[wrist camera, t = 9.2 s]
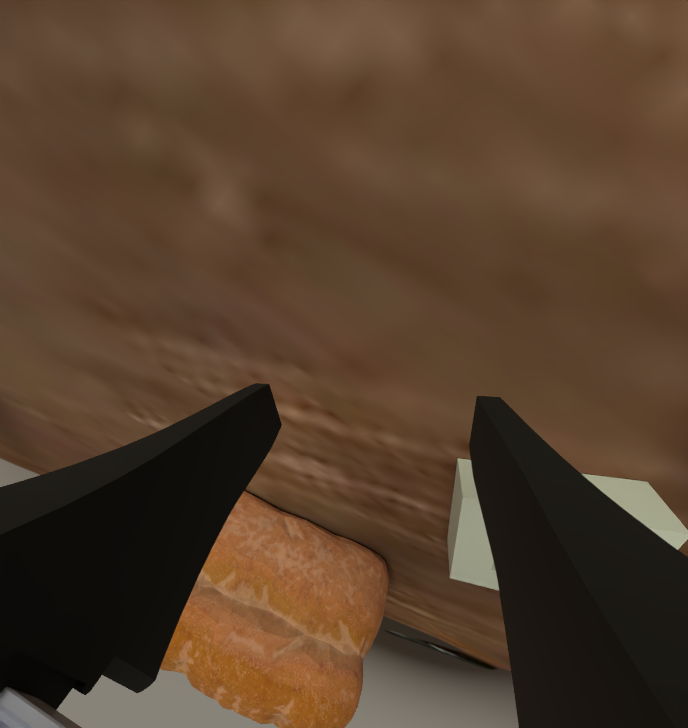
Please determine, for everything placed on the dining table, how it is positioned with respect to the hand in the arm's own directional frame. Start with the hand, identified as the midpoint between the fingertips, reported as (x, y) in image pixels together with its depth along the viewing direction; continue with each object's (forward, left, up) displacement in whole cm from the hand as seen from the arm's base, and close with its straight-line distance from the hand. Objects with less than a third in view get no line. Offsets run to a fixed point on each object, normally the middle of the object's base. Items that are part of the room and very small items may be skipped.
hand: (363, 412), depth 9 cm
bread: (+14, +31, -10) cm, 36 cm away
